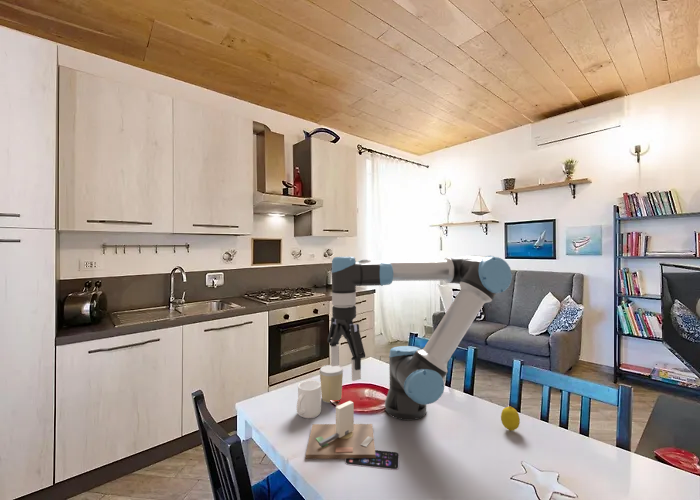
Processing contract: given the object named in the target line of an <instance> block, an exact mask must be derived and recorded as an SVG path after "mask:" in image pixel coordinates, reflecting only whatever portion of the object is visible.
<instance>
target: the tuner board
mask: <svg viewBox="0 0 700 500" xmlns="http://www.w3.org/2000/svg"><path fill="white" fill-rule="evenodd" d="M335 433H336V423H328V424H327V423H325V424H324V423H323V424H322V423H318V424H317V423H313V424H312V426H311V430H310V434H309V438H308V442H307V447H306V452H305V459H306V460H311V459H312V460H314V459H315V460H317V459H318V460H320V459H322V460H325V459H326V460H332V459H334V460H337V459H338V460H341V459H343V460H346V458H376V454H375V450H376V448H375V447H376V446H375V437H374V428H373V423H354V431H352V432H350V433H349V434H347V435H344V436H342V437H340V438H339V437H337V438H336V439H334V440H332V441H330V442H328V443H326V444H324V445H322V446H320V445H319V442H320V441H322V440H324V439H326V438H328V437H330V436H332V435H334V434H335Z"/></svg>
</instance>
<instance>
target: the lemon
mask: <svg viewBox="0 0 700 500" xmlns="http://www.w3.org/2000/svg"><path fill="white" fill-rule="evenodd" d="M520 420H521V419H520V415H519V412H518V411H517V410H516V409H515V408H514V407H512V406H510V405H509V406H506V407H504V408H503V409H502V410H501V415H500V421H501V423H502V425H503V427H504V428H505V429H507V430H508V431H509V432H512V431H515V430H517V429H518V428H519V427H520V423H521V422H520Z"/></svg>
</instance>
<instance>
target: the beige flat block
mask: <svg viewBox="0 0 700 500" xmlns="http://www.w3.org/2000/svg"><path fill="white" fill-rule="evenodd" d="M354 405H355V404H354V402H353V401H352V400H348V401H346V402H343V403H342V404H338V405H336V406H335V424H336V433H335V434H334V435H332V436H330V437H328V438H326V439H324V440H322V441H320V442H319V445H320V446H322V445H324V444H326V443H328V442H330V441H332V440H334V439H336V438H337V437H339V438H340V437H342V436H344V435H347V434H349V433H350V432H352V431H354V424H355V423H354V421H355V418H354V417H355V415H354V409H355V407H354Z"/></svg>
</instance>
